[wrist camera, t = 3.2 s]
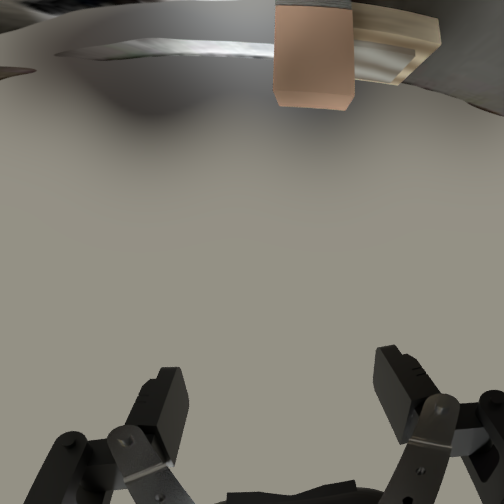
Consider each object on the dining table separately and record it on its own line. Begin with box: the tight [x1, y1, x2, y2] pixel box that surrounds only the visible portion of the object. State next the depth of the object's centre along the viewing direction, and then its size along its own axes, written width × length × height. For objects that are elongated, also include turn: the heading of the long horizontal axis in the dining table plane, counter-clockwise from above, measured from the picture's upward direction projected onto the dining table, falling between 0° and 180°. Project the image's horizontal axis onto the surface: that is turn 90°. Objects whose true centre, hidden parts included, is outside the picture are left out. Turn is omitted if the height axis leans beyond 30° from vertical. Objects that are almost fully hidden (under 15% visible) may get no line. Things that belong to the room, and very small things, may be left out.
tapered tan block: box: [273, 5, 355, 111], centre depth 19 cm, size 5×5×6 cm
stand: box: [351, 2, 441, 86], centre depth 32 cm, size 18×14×4 cm
